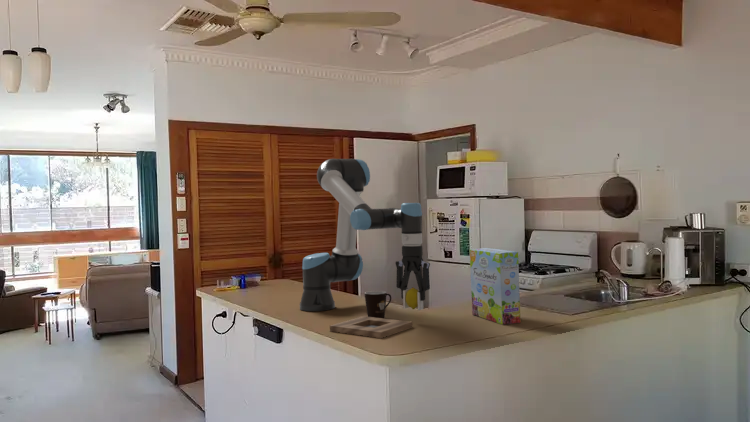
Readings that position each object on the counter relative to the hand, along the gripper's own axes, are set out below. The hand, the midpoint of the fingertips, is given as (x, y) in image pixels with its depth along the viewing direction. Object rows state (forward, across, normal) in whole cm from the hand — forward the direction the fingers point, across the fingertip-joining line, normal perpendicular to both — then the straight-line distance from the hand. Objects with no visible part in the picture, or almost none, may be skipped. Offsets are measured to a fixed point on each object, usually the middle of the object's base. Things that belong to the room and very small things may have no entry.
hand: (413, 308), depth 206 cm
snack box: (+5, +22, +21) cm, 31 cm away
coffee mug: (+6, -16, +2) cm, 18 cm away
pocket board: (+5, -8, -16) cm, 18 cm away
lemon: (+1, 0, 0) cm, 1 cm away
